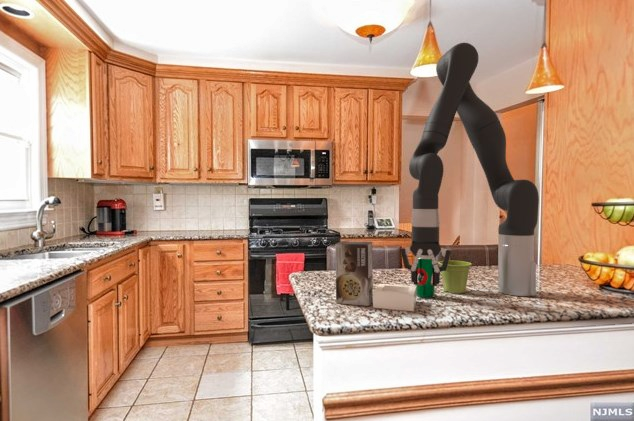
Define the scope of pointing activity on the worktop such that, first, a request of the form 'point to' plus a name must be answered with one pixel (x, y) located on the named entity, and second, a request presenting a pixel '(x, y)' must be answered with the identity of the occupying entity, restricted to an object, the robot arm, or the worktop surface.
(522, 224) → the robot arm
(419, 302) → the worktop surface
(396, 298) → the holder
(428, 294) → the soda can
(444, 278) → the plant pot
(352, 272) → the coffee box
